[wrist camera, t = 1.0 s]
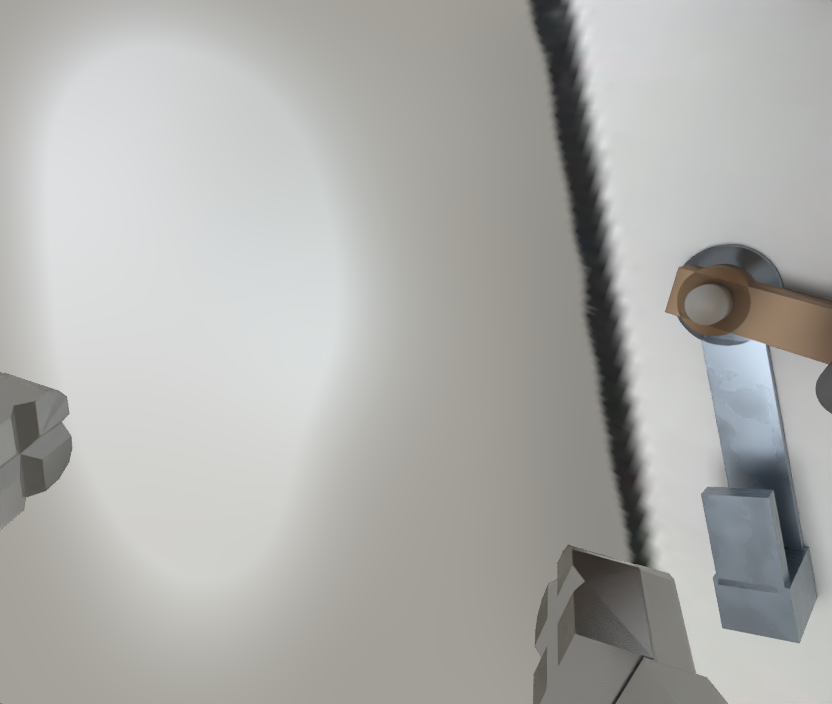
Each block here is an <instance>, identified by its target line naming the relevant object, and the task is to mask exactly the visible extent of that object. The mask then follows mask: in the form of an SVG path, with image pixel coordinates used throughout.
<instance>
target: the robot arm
mask: <svg viewBox="0 0 832 704" xmlns="http://www.w3.org/2000/svg"><path fill="white" fill-rule="evenodd" d="M68 415H69V407H68V400H67V396H65V395H64V394H63V393H61V392H60V391H58V390H55V389H52V388H49V387H46V386H43V385H40V384H37V383H34V382H31V381H28V380H25V379H22V378H19V377H16V376H13V375H10V374H7V373H1V372H0V530H1V529H3V528H4V527H5V526H6V525H7V524H8V523H9V522H11V521H12V520H13V519H14V518H15V517H16V516H17V515H19V514H20V513H21V512H22V511H23V510H24V508H25V501H26V497H29V496H32V495H35V494H38V493H41V492H44V491H46V490H47V489H49V488H50V487H51V486H52V485H53V484H54V483H55V482H56V481H57V480H58V479H59V478H60V476H61V475H62V473H63V471H64V470H65V468H66V467H67V465H68V463H69V461H70V456H71V451H72V438H71V435H70V433H69V432H68V430H67V429H66V427H65V426H64V425H63V423H62V421H63V420H64V419H65V418H66V417H67V416H68ZM557 564H558V565H557V579H556V580H554V581H552V582H550V583H548V585H547V588H546V590H545V593H544V595H543V598H542V601H541V604H540V608H539V612H538V616H537V623H536V630H535V648H536V650H537V651H538V653H539V655H540V656H541V659H540V662H539V664H538V666H537V668H536V670H535V672H534V684H533V704H728V703H727V702H726V700H725V699H724V698H723V697H722V695H721V694H720V693H719V692H718V690H717V689H716V688H715V687H714V685H713V684H712V683H711V682H710V680H709V679H708V678H707V677H704V676H701V675H698V674H696V671H695V666H694V662H693V658H692V654H691V649H690V645H689V641H688V636H687V632H686V628H685V624H684V619H683V615H682V611H681V607H680V602H679V598H678V594H677V589H676V585H675V581H674V579H673V578H672V576H671V575H670V574H669V573H665V572H662V571H658V570H655V569H651V568H648V567H644V566H641V565H637V564H635V565H633V564H632V563H628V562H625V561H621V560H618V559H614V558H611V557H608V556H605V555H601V554H597V553H594V552H591V551H587V550H584V549H581V548H577V547H574V546H571V545H567V546H566V548H565V549H564V550H563V552H562V554H561V556H560V558H559V560H558V563H557ZM0 704H1V703H0Z"/></svg>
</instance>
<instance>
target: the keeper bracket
mask: <svg viewBox="0 0 832 704" xmlns="http://www.w3.org/2000/svg"><path fill="white" fill-rule="evenodd" d="M688 264H692V265H696V266H700V267H703V268H707V267H710V266H713V265H717V264H732V265H736V266H739V267H741V268H743V269H744V270H746V271H747V272H748V273H750V274H751V275H752V277H753V278H754V279H755V281H756V282H760V283H763V284H767V285H771V286H775V287H779V288H782V289H783V284H782V280H781V277H780V275H779V273H778V271H777V270H776V268H775V267H774V265H773V264H772V263H771V262H770V261H769V260H768V259H767V258H766V257H765V256H763V255H762V254H760V253H759V252H757V251H755V250H753V249H750V248H747V247H743V246H739V245H722V246H716V247H713V248H709V249H706V250H704V251H702V252H700V253H698V254H696V255H695V256H693V257H692V258H691V259H690V260H689V261H688V262H686V263H685V265H688ZM685 265H684V266H685ZM677 317H678V318H679V320H680V322H681V323H682V325H683V326H684V327H685V328H686V329H687V330H688V331H689V332H690V333H691V334H692V335H694V336H695V337H697V338H699V339H700V340H701V341H702V347H703V352H704V357H705V363H706V368H707V373H708V379H709V384H710V390H711V395H712V400H713V406H714V411H715V416H716V422H717V427H718V432H719V438H720V443H721V448H722V454H723V459H724V464H725V470H726V475H727V480H728V486H729V488H723V487H707V488H706V489H705V490H704V492H703V493H702V494H701V496H702V502H703V507H704V512H705V517H706V523H707V528H708V533H709V538H710V544H711V549H712V554H713V559H714V565H715V570H716V574H715V575H714V577H713V581H714V586H715V591H716V597H717V602H718V607H719V612H720V618H721V623H722V628H725V629H730V630H735V631H740V632H745V633H750V634H755V635H760V636H765V637H770V638H775V639H780V640H785V641H790V642H796V643H800V641H801V638H802V635H803V633H804V630H805V628H806V625H807V622H808V620H809V617H810V615H811V612H812V609H813V607H814V604H815V602H816V599H817V591H816V585H815V579H814V574H813V568H812V563H811V557H810V551H809V547H804V543H803V537H802V531H801V526H800V520H799V515H798V509H797V503H796V498H795V492H794V486H793V481H792V475H791V470H790V464H789V458H788V453H787V447H786V441H785V436H784V430H783V425H782V419H781V413H780V408H779V402H778V396H777V391H776V385H775V380H774V374H773V368H772V363H771V357H770V351H769V346H768V345H767V344H764V343H760V342H757V341H754V340H751V339H748V338H745V337H742V336H738V335H735V334H732V333H728V334H725V335H721V336H707V335H703V334H700V333H697V332H695V331H694V330H692V329H691V328H689V327H688V326H687V325H686V324H685V323H684V321H683V320H682V318H681V317H679V316H677Z"/></svg>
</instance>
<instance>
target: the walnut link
mask: <svg viewBox="0 0 832 704" xmlns="http://www.w3.org/2000/svg"><path fill="white" fill-rule="evenodd" d="M665 312H666V313H670V314H673V315H676V316H679V317H681V318H682V320H683V321H684V323H685V324H686V325H687V326H688V327H689V328H691V329H692V330H694V331H695V332H697V333H700V334H703V335H707V336H721V335H725V334H728V333H732V334H735V335H738V336H742V337H745V338H748V339H751V340H754V341H757V342H760V343H764V344H767V345H770V346H773V347H776V348H779V349H782V350H785V351H789V352H792V353H795V354H798V355H801V356H804V357H807V358H811V359H814V360H817V361H820V362H823V363H826V364H829V365H828V366H827V367H826V369H825V370H824V371H823V373H822V374H821V375H820V377H819V378H818V380H817V383H816V395H817V398H818V400H819V402H820V403H821V405H822V406H823V407H824V408H825V409H826V410H827V411H829V412H830V413H832V302H831V301H827V300H824V299H820V298H816V297H812V296H809V295H805V294H801V293H797V292H794V291H790V290H786V289H782V288H779V287H775V286H771V285H767V284H763V283H760V282H756V281H755V279H754V278H753V277H752V275H751V274H750V273H748V272H747V271H746V270H744V269H743V268H741V267H739V266H736V265H732V264H717V265H713V266H710V267H707V268H703V267H700V266H696V265H692V264H688V265H685V266H682V267H679V268H678V271H677V274H676V277H675V281H674V284H673V287H672V291H671V294H670V297H669V300H668V304H667V307H666V310H665Z"/></svg>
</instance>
